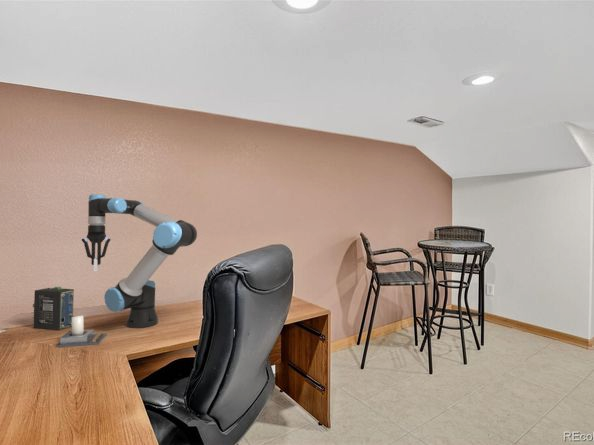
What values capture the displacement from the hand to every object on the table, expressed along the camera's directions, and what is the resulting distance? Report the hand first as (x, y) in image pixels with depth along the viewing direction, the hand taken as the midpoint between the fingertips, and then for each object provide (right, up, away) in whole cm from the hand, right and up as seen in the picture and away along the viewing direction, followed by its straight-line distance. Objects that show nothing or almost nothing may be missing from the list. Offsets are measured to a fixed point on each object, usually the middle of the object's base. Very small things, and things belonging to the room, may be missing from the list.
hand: (95, 271), depth 171 cm
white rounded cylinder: (+5, -27, -22) cm, 35 cm away
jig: (+7, -28, -21) cm, 36 cm away
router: (-21, -28, -1) cm, 35 cm away
